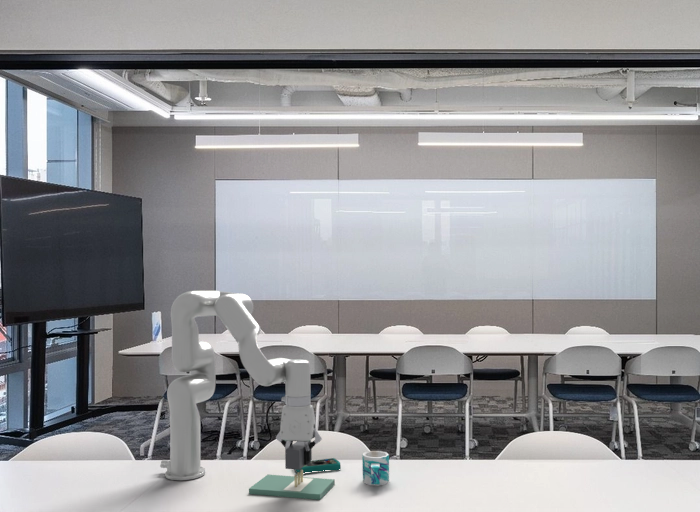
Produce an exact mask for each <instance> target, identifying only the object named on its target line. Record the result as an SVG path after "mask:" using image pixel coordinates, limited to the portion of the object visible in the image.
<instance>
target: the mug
mask: <svg viewBox="0 0 700 512" xmlns="http://www.w3.org/2000/svg"><path fill="white" fill-rule="evenodd" d="M361 455H362V456H361V458H362V459H361V460H362V482H363V483H364V484H366V485H369V486H383V485H387V484H388V483H390V454H389V453H388V452H387V451H381V450H371V451H370V450H368V451H364V452H363V453H362V454H361Z"/></svg>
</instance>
